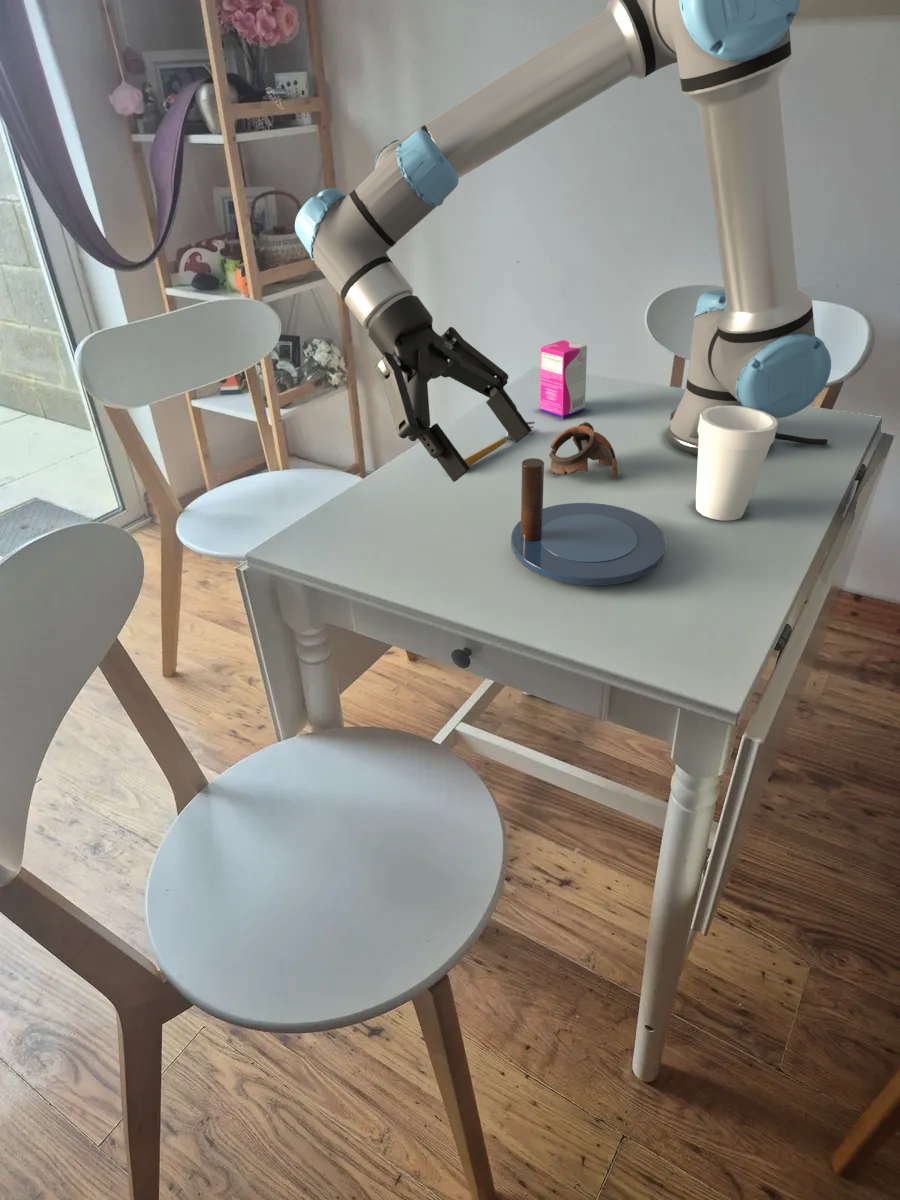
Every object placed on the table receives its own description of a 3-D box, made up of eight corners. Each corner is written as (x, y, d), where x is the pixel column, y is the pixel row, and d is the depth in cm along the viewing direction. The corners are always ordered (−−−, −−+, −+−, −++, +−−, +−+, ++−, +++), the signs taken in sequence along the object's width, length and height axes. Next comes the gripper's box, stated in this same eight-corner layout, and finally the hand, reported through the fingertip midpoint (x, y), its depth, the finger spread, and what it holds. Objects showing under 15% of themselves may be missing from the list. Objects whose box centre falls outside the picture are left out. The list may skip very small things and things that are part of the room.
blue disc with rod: (656, 510, 108) (666, 432, 102) (674, 587, 93) (686, 501, 87) (514, 508, 110) (514, 431, 104) (507, 583, 95) (508, 498, 89)
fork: (461, 465, 122) (535, 420, 134) (452, 459, 122) (526, 415, 135) (459, 479, 123) (532, 433, 136) (450, 473, 124) (523, 428, 137)
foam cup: (670, 508, 111) (686, 417, 104) (707, 488, 116) (725, 400, 109) (732, 533, 105) (753, 438, 98) (769, 511, 110) (791, 419, 103)
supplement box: (561, 402, 147) (563, 338, 140) (585, 411, 143) (589, 345, 136) (538, 410, 144) (539, 345, 137) (562, 419, 140) (565, 353, 133)
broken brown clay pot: (625, 490, 118) (603, 449, 112) (565, 512, 122) (541, 474, 116) (619, 438, 126) (598, 398, 120) (562, 460, 129) (540, 423, 124)
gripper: (436, 309, 109) (528, 437, 110) (304, 359, 93) (415, 509, 94) (467, 271, 104) (565, 407, 105) (333, 317, 87) (450, 477, 88)
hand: (494, 455), depth 99 cm, fingers open, 13 cm apart
